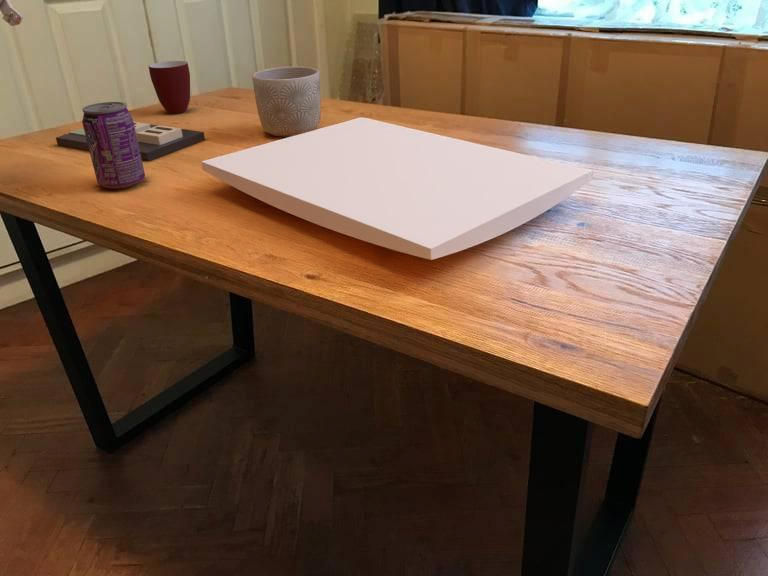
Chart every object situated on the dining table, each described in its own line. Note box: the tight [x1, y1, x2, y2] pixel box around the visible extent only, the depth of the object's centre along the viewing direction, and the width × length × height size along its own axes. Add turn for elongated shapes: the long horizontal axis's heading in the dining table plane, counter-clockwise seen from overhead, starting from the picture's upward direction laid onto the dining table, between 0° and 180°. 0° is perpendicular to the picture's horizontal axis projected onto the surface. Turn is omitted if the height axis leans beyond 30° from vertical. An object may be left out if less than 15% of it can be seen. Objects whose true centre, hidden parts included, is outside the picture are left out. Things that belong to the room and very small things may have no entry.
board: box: [200, 116, 594, 261], centre depth 93 cm, size 45×32×5 cm
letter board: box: [55, 121, 206, 162], centre depth 123 cm, size 24×14×3 cm, turn 61°
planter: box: [251, 65, 322, 138], centre depth 124 cm, size 12×12×11 cm
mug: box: [148, 60, 191, 115], centre depth 142 cm, size 11×8×10 cm
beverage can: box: [81, 101, 146, 190], centre depth 101 cm, size 7×7×12 cm
